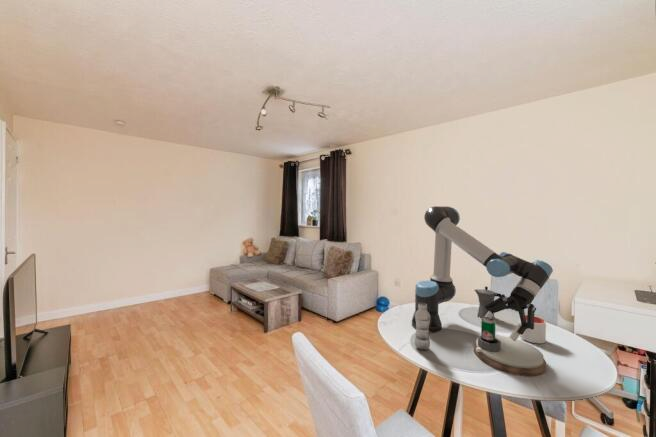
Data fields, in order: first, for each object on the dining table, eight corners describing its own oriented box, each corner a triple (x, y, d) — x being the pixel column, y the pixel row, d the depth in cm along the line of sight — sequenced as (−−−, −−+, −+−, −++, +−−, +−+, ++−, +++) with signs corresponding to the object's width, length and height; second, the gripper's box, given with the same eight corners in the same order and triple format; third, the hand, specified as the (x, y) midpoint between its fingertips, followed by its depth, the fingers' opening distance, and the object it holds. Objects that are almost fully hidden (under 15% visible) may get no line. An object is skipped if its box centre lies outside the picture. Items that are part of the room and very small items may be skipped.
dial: (516, 339, 122) (516, 328, 122) (559, 369, 99) (559, 355, 99) (463, 338, 122) (463, 327, 122) (493, 368, 99) (493, 354, 99)
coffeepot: (470, 315, 156) (470, 285, 156) (477, 311, 162) (478, 282, 162) (499, 324, 144) (500, 291, 144) (506, 320, 150) (506, 288, 149)
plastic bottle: (418, 343, 123) (418, 300, 123) (432, 348, 118) (433, 304, 118) (411, 348, 119) (412, 304, 118) (426, 353, 114) (426, 308, 113)
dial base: (471, 362, 107) (471, 356, 107) (476, 338, 128) (476, 333, 128) (550, 384, 93) (550, 378, 93) (542, 353, 114) (542, 348, 114)
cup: (550, 345, 121) (550, 324, 121) (525, 343, 123) (526, 322, 123) (537, 335, 131) (538, 315, 130) (515, 333, 132) (515, 314, 132)
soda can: (479, 346, 111) (479, 318, 111) (483, 342, 115) (483, 315, 115) (493, 351, 108) (493, 322, 107) (496, 346, 111) (496, 318, 111)
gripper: (562, 307, 100) (532, 352, 96) (502, 289, 124) (476, 324, 121) (552, 295, 99) (521, 340, 95) (494, 279, 123) (467, 314, 119)
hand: (496, 331), depth 108 cm, fingers open, 13 cm apart
